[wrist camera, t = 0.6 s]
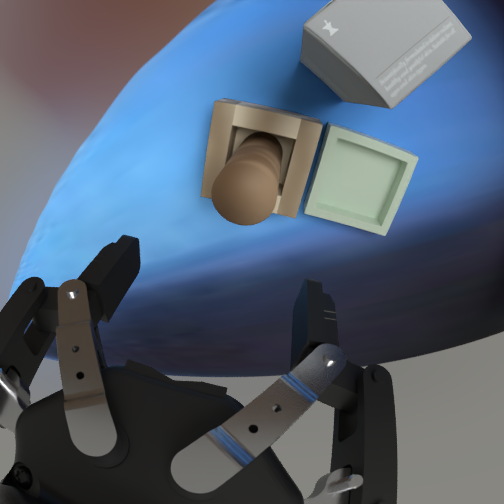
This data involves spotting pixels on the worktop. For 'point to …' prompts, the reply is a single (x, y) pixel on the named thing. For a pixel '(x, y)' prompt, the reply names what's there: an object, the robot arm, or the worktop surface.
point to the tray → (358, 180)
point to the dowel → (249, 181)
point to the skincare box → (380, 47)
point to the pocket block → (275, 123)
